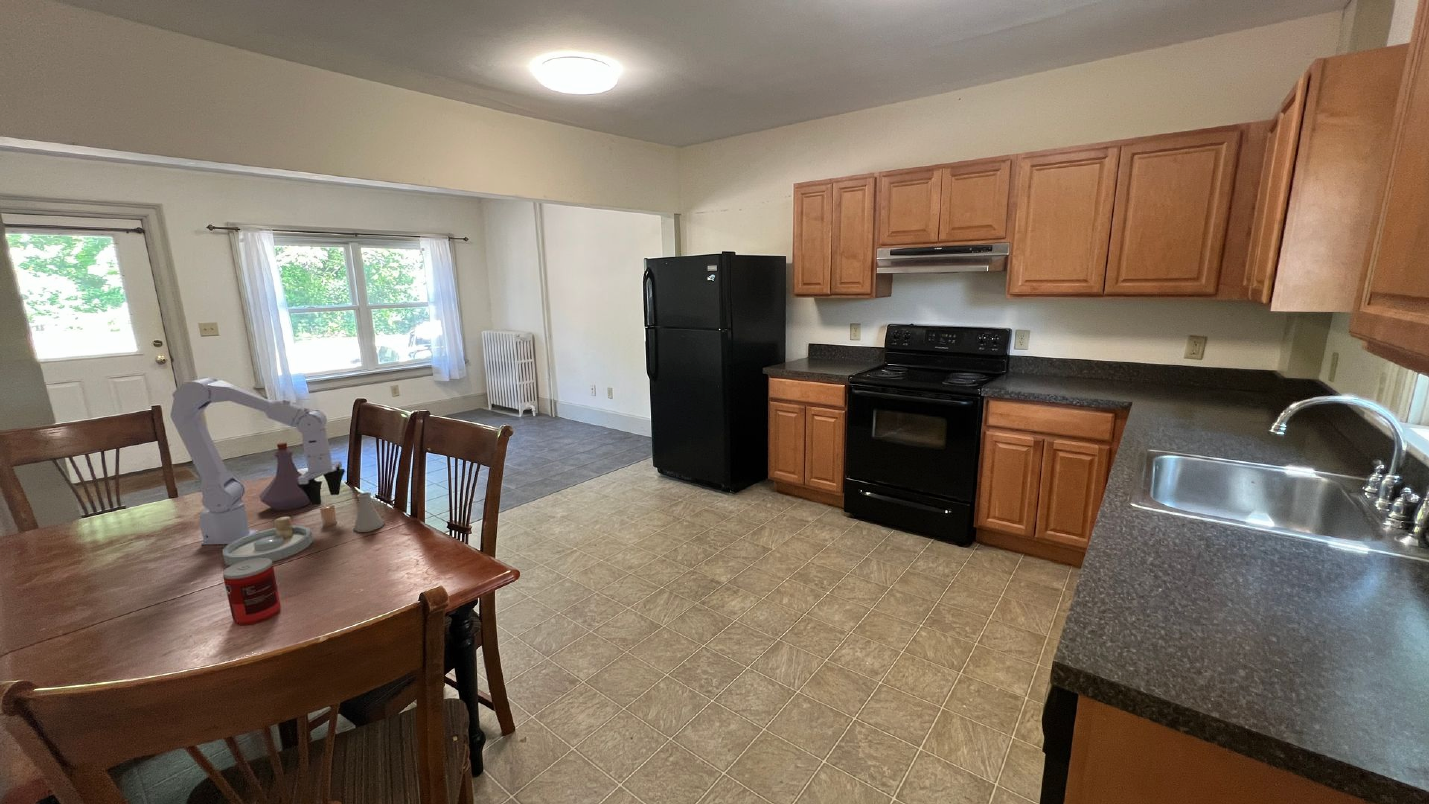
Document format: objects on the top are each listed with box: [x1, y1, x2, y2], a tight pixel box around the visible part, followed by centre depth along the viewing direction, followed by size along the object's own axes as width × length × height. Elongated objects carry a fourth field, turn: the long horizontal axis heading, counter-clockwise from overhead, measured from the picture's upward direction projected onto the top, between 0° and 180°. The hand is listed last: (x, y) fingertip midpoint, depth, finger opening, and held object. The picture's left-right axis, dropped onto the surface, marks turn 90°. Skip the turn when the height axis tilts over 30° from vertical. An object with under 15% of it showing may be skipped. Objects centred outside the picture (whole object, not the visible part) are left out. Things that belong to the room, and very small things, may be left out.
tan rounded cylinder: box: [273, 516, 293, 539], centre depth 150 cm, size 3×3×5 cm
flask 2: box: [353, 491, 386, 533], centre depth 156 cm, size 7×7×10 cm
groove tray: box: [222, 525, 314, 567], centre depth 145 cm, size 18×18×2 cm
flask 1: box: [258, 442, 311, 511], centre depth 174 cm, size 16×16×20 cm
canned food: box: [222, 558, 282, 626], centre depth 114 cm, size 8×8×11 cm
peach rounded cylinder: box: [319, 504, 338, 527], centre depth 160 cm, size 3×3×5 cm
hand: (326, 499), depth 159 cm, fingers open, 7 cm apart
